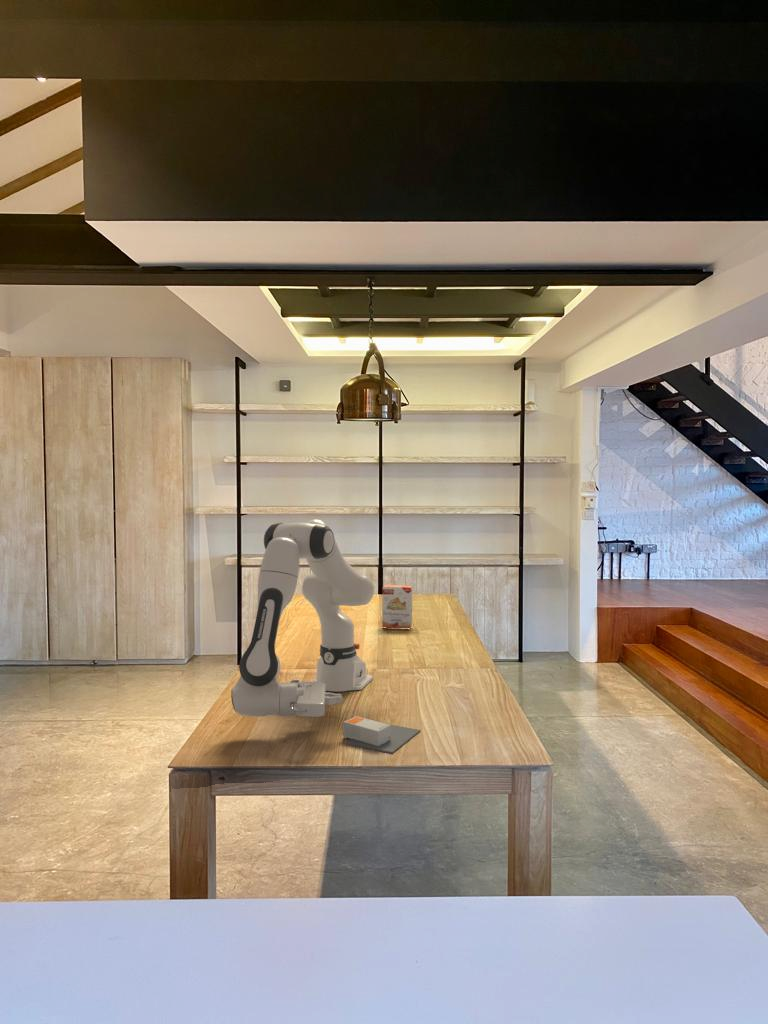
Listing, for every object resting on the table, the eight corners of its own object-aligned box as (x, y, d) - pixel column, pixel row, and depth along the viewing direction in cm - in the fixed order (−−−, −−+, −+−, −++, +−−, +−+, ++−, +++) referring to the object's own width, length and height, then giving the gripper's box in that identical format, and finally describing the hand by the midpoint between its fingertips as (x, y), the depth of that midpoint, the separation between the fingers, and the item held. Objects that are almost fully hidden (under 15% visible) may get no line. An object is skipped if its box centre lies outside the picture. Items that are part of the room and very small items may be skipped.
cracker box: (381, 629, 327) (382, 586, 327) (384, 626, 333) (384, 584, 333) (410, 630, 325) (411, 587, 324) (412, 628, 331) (412, 585, 330)
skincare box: (356, 715, 188) (391, 724, 181) (356, 730, 188) (391, 740, 181) (342, 721, 183) (378, 731, 176) (342, 736, 183) (378, 747, 176)
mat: (375, 723, 195) (375, 722, 195) (420, 731, 189) (420, 729, 189) (344, 744, 179) (344, 742, 179) (392, 753, 173) (392, 752, 173)
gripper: (288, 699, 175) (342, 698, 176) (293, 678, 196) (341, 677, 197) (288, 723, 176) (342, 722, 177) (293, 699, 196) (341, 698, 197)
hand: (342, 698), depth 187 cm, fingers closed
